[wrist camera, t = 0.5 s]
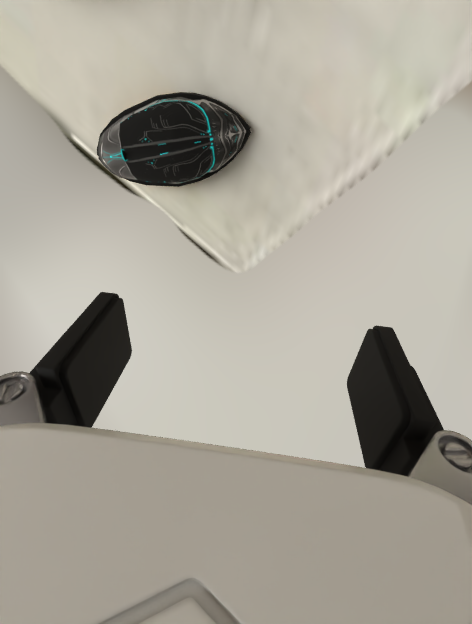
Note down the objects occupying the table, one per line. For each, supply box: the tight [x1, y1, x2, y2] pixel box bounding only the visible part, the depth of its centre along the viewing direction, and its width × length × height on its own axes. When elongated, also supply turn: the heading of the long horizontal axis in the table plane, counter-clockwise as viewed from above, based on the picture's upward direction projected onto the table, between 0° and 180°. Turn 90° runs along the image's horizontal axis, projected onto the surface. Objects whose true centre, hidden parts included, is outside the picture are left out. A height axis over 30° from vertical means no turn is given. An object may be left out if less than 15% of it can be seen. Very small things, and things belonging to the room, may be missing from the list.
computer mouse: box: [97, 92, 251, 187], centre depth 32 cm, size 9×17×6 cm, turn 99°
